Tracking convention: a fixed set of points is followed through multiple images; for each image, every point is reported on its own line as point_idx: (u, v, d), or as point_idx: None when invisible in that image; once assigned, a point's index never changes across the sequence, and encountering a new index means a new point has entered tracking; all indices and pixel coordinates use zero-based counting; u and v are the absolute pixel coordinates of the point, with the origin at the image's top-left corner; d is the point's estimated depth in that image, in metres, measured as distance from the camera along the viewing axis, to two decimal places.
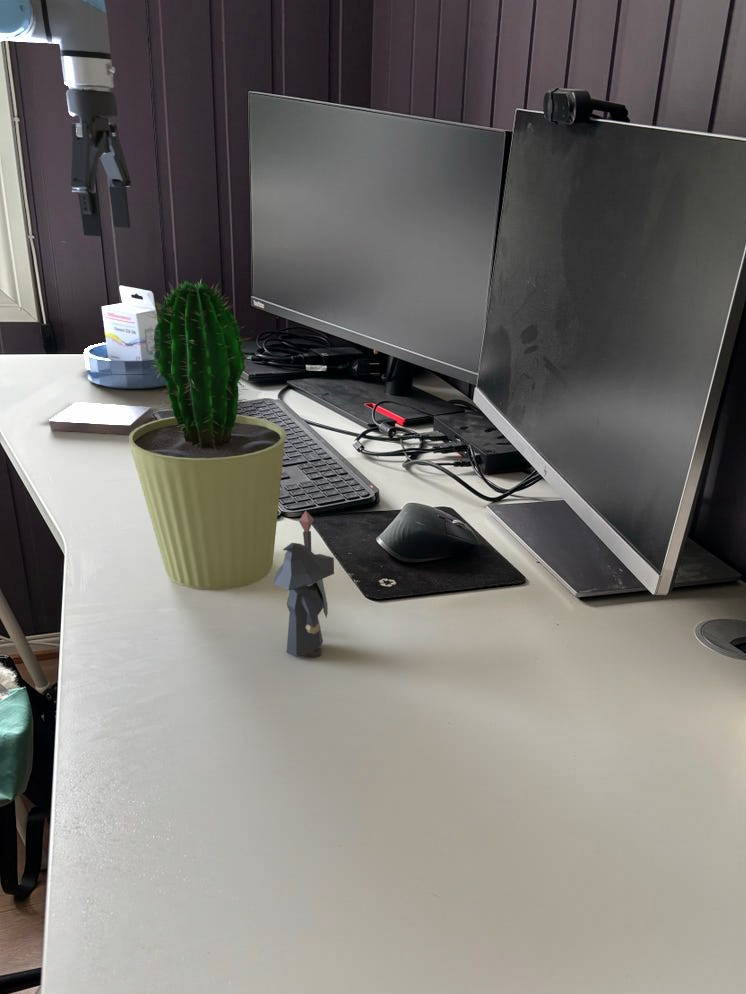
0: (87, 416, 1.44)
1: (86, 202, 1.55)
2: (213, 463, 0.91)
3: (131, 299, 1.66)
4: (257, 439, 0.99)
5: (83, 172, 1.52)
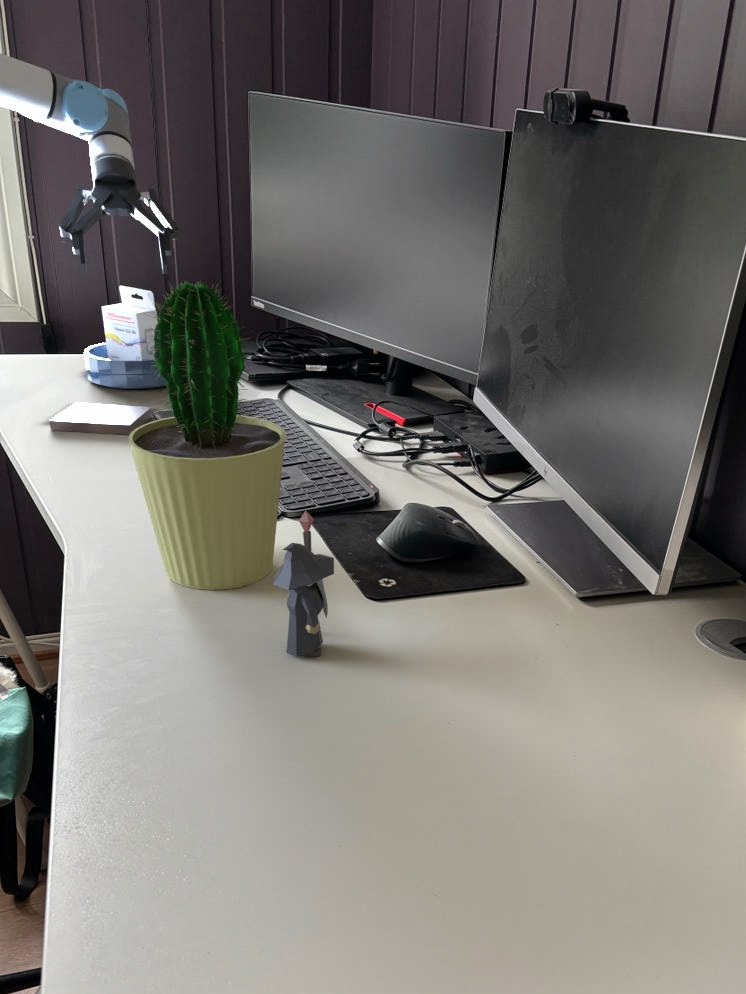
0: (87, 416, 1.44)
1: None
2: (213, 463, 0.91)
3: (131, 299, 1.66)
4: (257, 439, 0.99)
5: None
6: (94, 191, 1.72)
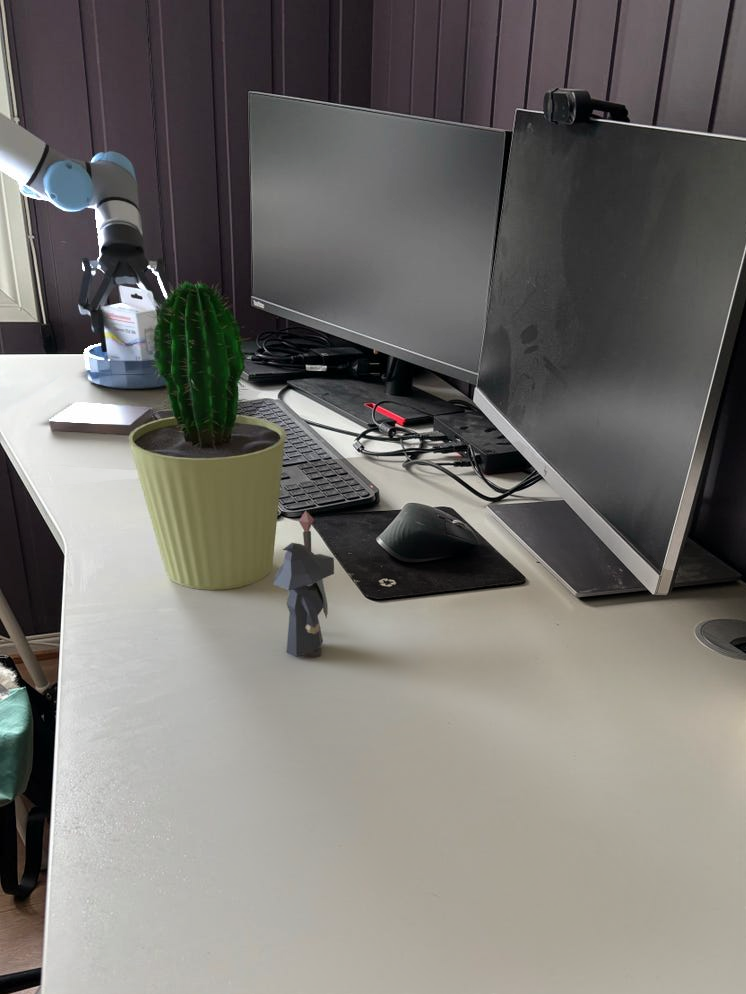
0: (87, 416, 1.44)
1: None
2: (213, 463, 0.91)
3: (130, 299, 1.66)
4: (257, 439, 0.99)
5: None
6: (101, 259, 1.67)
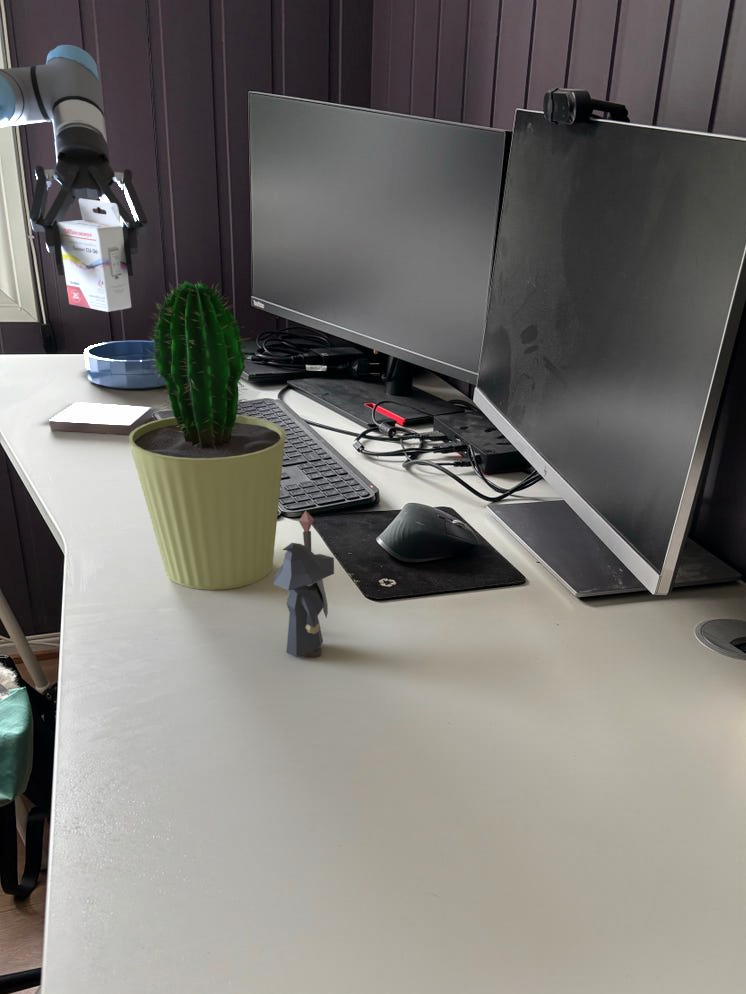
0: (87, 416, 1.44)
1: None
2: (213, 463, 0.91)
3: (92, 215, 1.42)
4: (257, 439, 0.99)
5: None
6: (57, 168, 1.42)
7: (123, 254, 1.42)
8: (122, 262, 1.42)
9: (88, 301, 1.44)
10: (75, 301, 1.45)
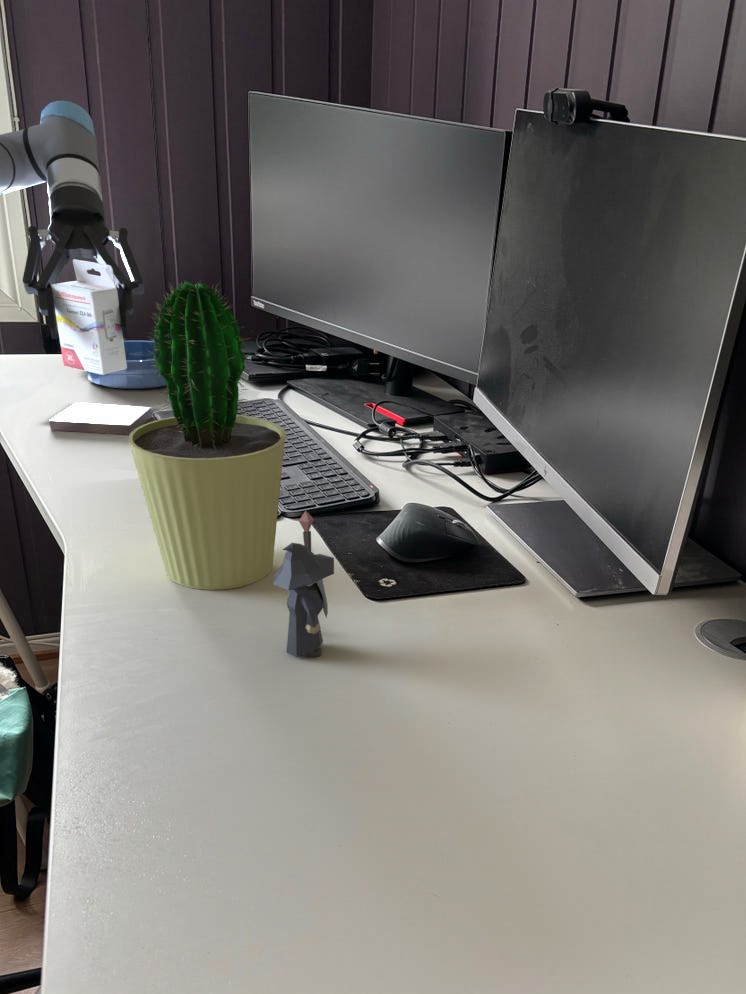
0: (87, 416, 1.44)
1: None
2: (213, 463, 0.91)
3: (86, 276, 1.39)
4: (257, 439, 0.99)
5: None
6: (51, 228, 1.39)
7: (118, 316, 1.39)
8: (117, 324, 1.39)
9: (83, 364, 1.40)
10: (69, 363, 1.42)
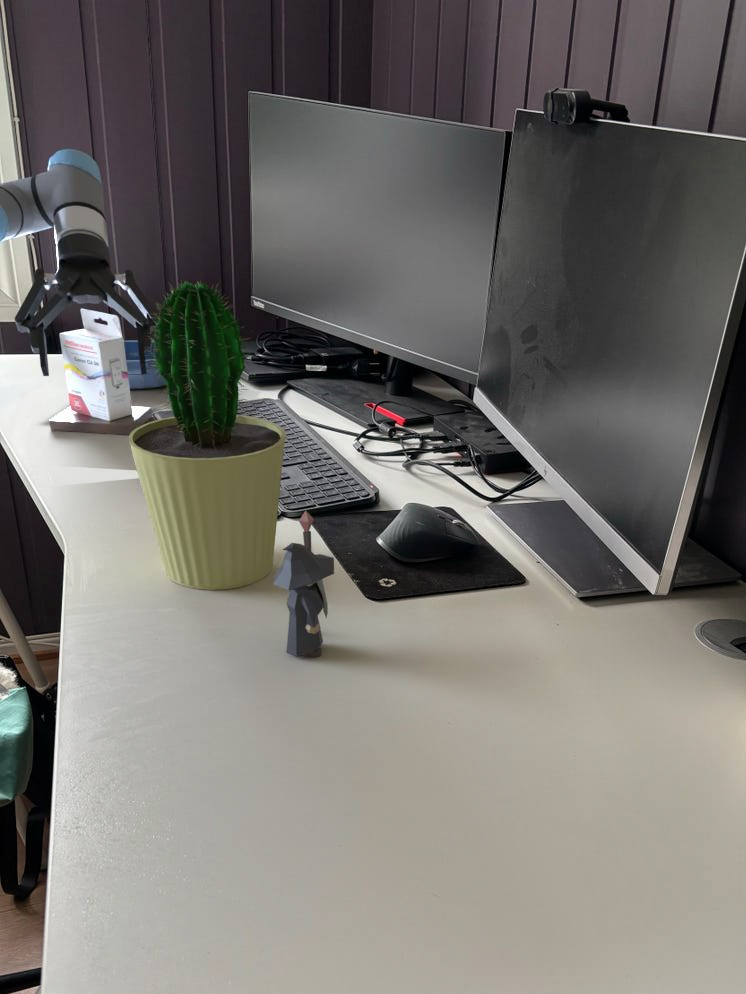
0: (87, 416, 1.44)
1: None
2: (213, 463, 0.91)
3: (94, 325, 1.42)
4: (257, 439, 0.99)
5: None
6: (58, 275, 1.42)
7: (124, 364, 1.42)
8: (123, 372, 1.42)
9: (89, 410, 1.44)
10: (76, 409, 1.45)
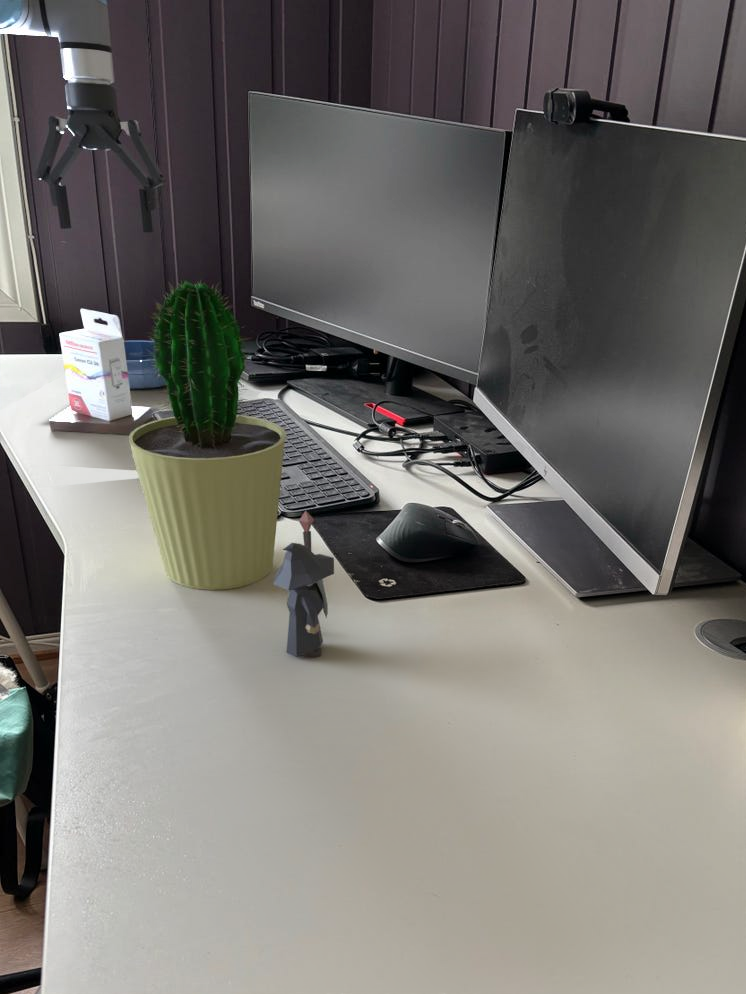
0: (87, 416, 1.44)
1: (153, 198, 1.57)
2: (213, 463, 0.91)
3: (94, 325, 1.42)
4: (257, 439, 0.99)
5: (158, 168, 1.56)
6: (69, 123, 1.51)
7: (124, 364, 1.42)
8: (123, 372, 1.42)
9: (89, 410, 1.44)
10: (76, 409, 1.45)
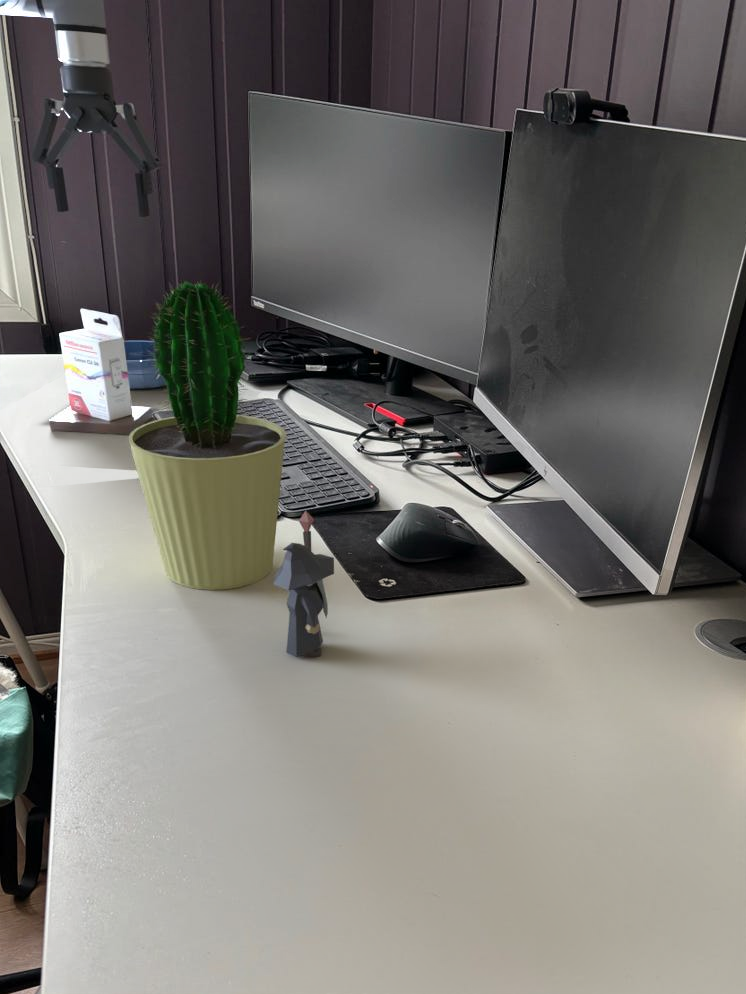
0: (87, 416, 1.44)
1: (149, 182, 1.57)
2: (213, 463, 0.91)
3: (94, 325, 1.42)
4: (257, 439, 0.99)
5: (154, 152, 1.55)
6: (64, 106, 1.51)
7: (124, 364, 1.42)
8: (123, 372, 1.42)
9: (89, 410, 1.44)
10: (76, 409, 1.45)
